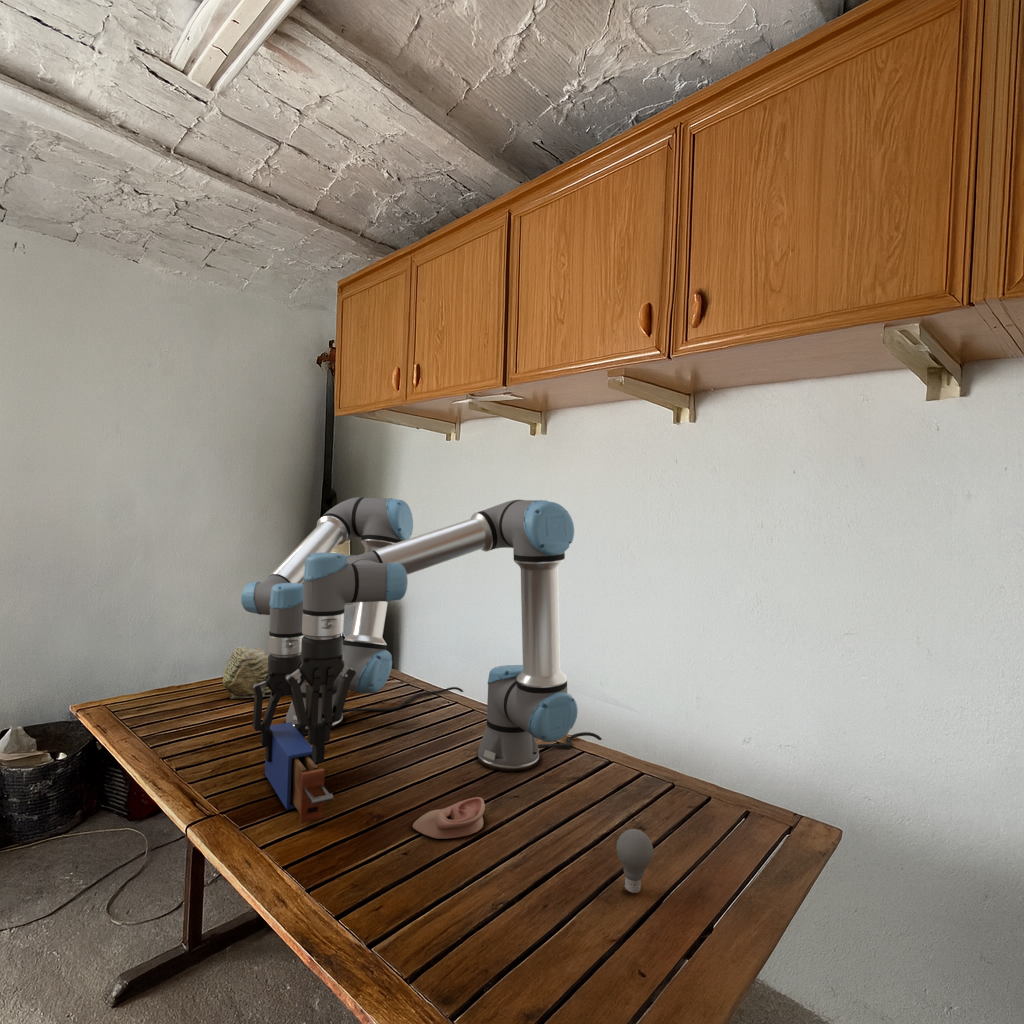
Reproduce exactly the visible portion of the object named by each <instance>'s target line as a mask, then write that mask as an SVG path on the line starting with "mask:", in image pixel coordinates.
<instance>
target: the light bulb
mask: <svg viewBox="0 0 1024 1024" xmlns="http://www.w3.org/2000/svg"><path fill="white" fill-rule="evenodd" d="M615 849H616V854H617V857H618V859H619V861H620V863H621V865H622V867H623V873H624V874H623V875H624V876H625V878H624V888H625V890H627V891H628V892H630V893H634V894H635V893H639V892H640V891H641V889H642V887H641V886H642V879H643V877H644V875H645V871H646V868H647V867H648V866H649V864H650V863H651V861H652V859H653V855H654V847H653V843H652V841H651V838H649V836H648V835H647V834H646V833H645V832H643V831H642V830H641V829H636V828H629V829H627V830H625V831H623V832H622V833H621V834H620V835H619V837H618V839H617V841H616V847H615Z"/></svg>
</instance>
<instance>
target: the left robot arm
mask: <svg viewBox="0 0 1024 1024" xmlns="http://www.w3.org/2000/svg"><path fill="white" fill-rule="evenodd" d="M413 517H414V516H413V513H412V510H411V507H410V506H409V504H408V503H407V502H406V501H405V500H402V499H397V498H391V497H389V498H387V497H385V498H383V497H382V498H380V497H364V496H363V497H360V496H357V497H352V498H349V499H345V500H344V501H341V502H340V503H338V504H335V505H334V506H333V507H332V508H330V509H329V510H327V511H326V512H325V513H324V514H323V515H322V516H321V517H320V518H319V519H318V520H317V522H316V527H315V528H314V529H313V530H312V531H311V532H310V533H309V534H308V535H307V536H306V537H305V538H304V539H303V540H302V541H301V542H300V543H299V544H298V545H297V546H296V547H295V548H294V550H292V551H291V553H290V554H288V555H287V557H285V559H284V560H283V561H282V562H281V563H280V564H279V565H278V566H277V567H276V568H275V569H273V571H272V572H271V573H270V574H269V575H268V576H267V577H266V578H265V579H264V580H263V581H262V582H260V581H253V582H249V583H247V584H246V585H245V586H244V588H243V590H242V592H241V594H240V595H241V596H240V602H241V605H242V608H243V609H244V610H245V611H246V612H248V613H250V614H255V615H256V614H257V615H261V616H262V615H263V616H269V632H268V648H267V649H268V650H267V652H268V653H269V655H268V674H267V677H266V679H265V681H263V682H261V683H259V684H257V683H254V684H253V685H252V687H253V690H254V693H255V697H253V710H252V711H253V713H252V728H253V729H254V731H255V732H260V744H261V746H262V747H263V748H264V747H265V749H264V752H265V753H264V760H265V759H266V760H267V762H271V761H272V734H273V732H272V731H271V729H270V726H271V725H272V722H273V720H274V717H275V712H276V709H277V707H278V703H279V702H280V700H281V698H283V697H285V696H289V697H290V698H291V702H290V704H289V708H288V711H287V713H286V715H285V723H289V722H291V723H292V724H293V725H294V727H295V728H296V729H297V730H298V731H299V732H300V734H301V735H302V736H303V737H304V738H305V739H306V733H308V727H307V726H305V727H304V726H302V725H301V724H300V723H299V722H298V718H297V714H296V709H295V705H294V700H293V696H292V691H291V686H290V685H289V683H288V682H287V681H286V679H285V676H286V675H287V674H292V673H293V672H295V671H296V670H297V669H298V665H299V663H300V661H301V642H302V638H303V636H305V635H304V634H302V618H303V595H304V579H303V577H304V569H305V560H306V558H307V556H308V555H310V554H312V553H332V551H334V549H335V548H336V547H337V546H339V545H342V544H344V543H346V541H347V540H348V539H352V538H361V539H360V543H361V544H362V546H363V547H364V553H367V552H370V551H374V550H376V549H379V548H382V547H385V546H388V545H392V544H395V543H398V542H401V541H404V540H407V539H410V538H412V537H411V536H412V535H413V531H414V530H413V529H414V518H413ZM388 605H389V601H388V602H386V601H379V602H355V607H354V612H353V617H352V623H351V624H352V625H351V630H350V634H349V635H348V636H346V637H345V638H343V655H342V658H343V661H344V663H345V666H347V667H350V668H352V669H353V670H355V672H356V674H355V676H354V677H353V679H352V681H351V682H350V685H349V689H348V692H354V693H357V694H358V693H359V694H376V693H378V692H379V691H381V690H382V689H383V688H384V686H385V685H386V683H387V682H388V680H389V678H390V675H391V671H392V668H393V656H392V654H391V652H390V651H388V650H387V646H388V643H387V642H386V640H384V638H383V635H384V630H385V622H386V616H387V611H388ZM340 678H341V672H340V674H339V675H338V677H337V678H336V679H335V681H334V688H333V691H332V707H333V704H334V700H335V696H336V692H337V689H338V685H339V681H340ZM300 679H301V682H300V683H299V686H300V688H301V692H302V697H303V701H304V706H305V711H306V715H307V718H308V695H309V688H308V683H307V681H306V680H305V679H304V677H303V676H302V675H301V676H300ZM266 686H268V688H269V689H270V690H271V694H270V696H269V699H268V702H267V707H266V710H265V712H264V716H263V718H262V713H263V700H264V697H263V694H262V693H263V692H264V691H265V687H266ZM452 690H457V691H459V692H460V693H464V691H465V690H463V689H462V688H460V687H458V686H450V687H447V688H444V689H440V690H433V691H426V692H425V691H423V692H420V693H415V694H414V695H412V696H410V697H409V698H408V699H406V700H404V701H403V702H402V703H400V704H398V705H396V706H393V707H387V708H386V707H385V708H384V707H383V708H376V707H375V708H372V707H370V708H367V707H366V708H343V712H344V713H346V712H389V711H395V710H398V709H400V708H402V707H404V705H406V704H408V703H409V702H411V701H412V700H413V699H415V698H418V697H421V696H424V695H425V696H426V695H435V694H440V693H444V692H448V691H452ZM321 710H322V685H320V691H319V703H318V723H322V721H321ZM343 712H342V715H341V719H340V720H339V721H335V722H333V723H332V726H331V727H330V730H332V729H335V728H337V727H339V726H340V725H342V723H343V722H344V714H343Z"/></svg>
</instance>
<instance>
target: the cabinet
mask: <svg viewBox="0 0 1024 1024" xmlns="http://www.w3.org/2000/svg"><path fill="white" fill-rule="evenodd" d="M270 729H271V731H272V732H273V734H272V761H271V762H267V760H266V759H265V758H264V763H265V764H264V775H265V777H266V778H267V780H268V782H269V784H270V785H271V786H272V789H273V790H274V791H275V793H276V794H277V796H278V799H279V800H280V801H281V803H282V805H283V806H284V808H285V809H286V811H289V810H293V809H296V807H295V805H294V804H293V802H292V801H291V799H290V798H291V769H292V758H297V757H302V756H307V755H308V756H309V757H310V758H311V760H312V761H313V762H314V763H315V764H316V762H315V761H314V760H313V759H312V745H310V744H309V742H308V740H307V739H306V737H305V738H304V737H303V736H302V735H301V734H300V732H299V731H298V730H297V729H296V728H295V727H294V725H293V724H292V723H291V722H289V723H286V722H283V723H278V724H271V726H270Z"/></svg>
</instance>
